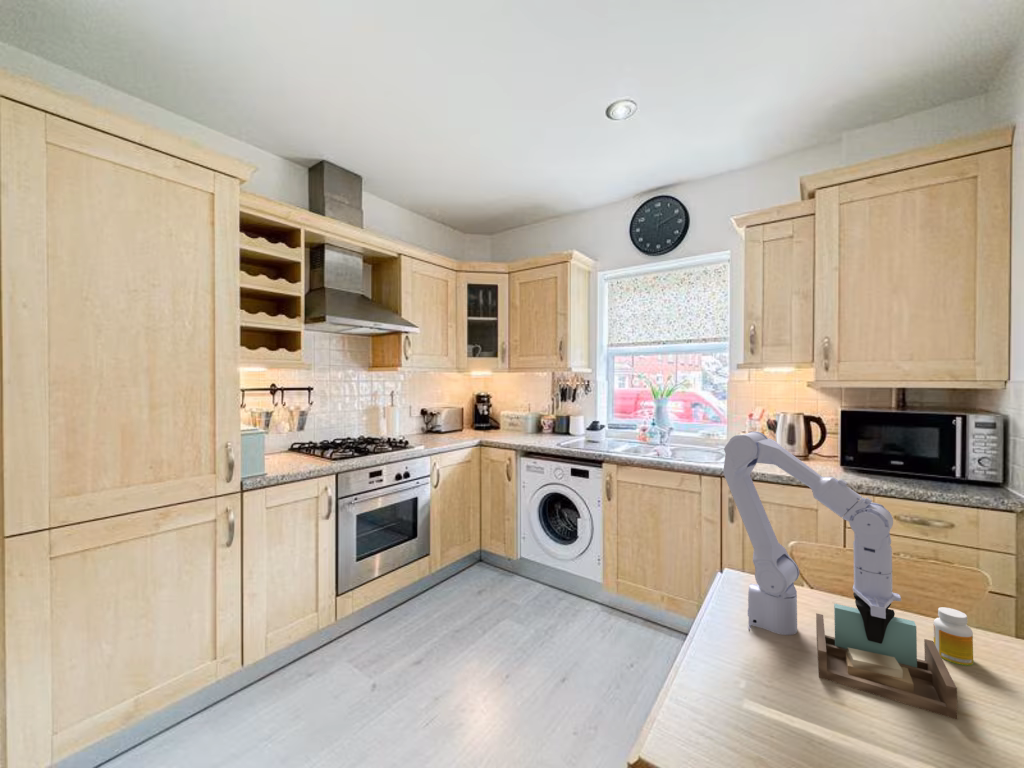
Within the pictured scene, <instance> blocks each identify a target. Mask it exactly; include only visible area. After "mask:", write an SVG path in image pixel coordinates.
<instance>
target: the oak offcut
mask: <svg viewBox="0 0 1024 768" xmlns="http://www.w3.org/2000/svg"><path fill="white" fill-rule="evenodd" d="M846 664H847V671H848V674H851V675H854V676H858V677H861V678H865V679H868V680H872V681H875V682H878V683H882V684H885V685H889V686H892V687H895V688H899V689H902V690H906V691H909V692H912V693H914V684H913V681H912V679H911V676H910V673H909V671H908V668H905V667H901V666H900V667H901V668H902V670H903V679H902V678H897V677H893V676H888V675H884V674H879V673H875V672H871V671H866V670H862V669H857V668H853V666H852V663H851V661H850V659H849V657H848V652H846Z"/></svg>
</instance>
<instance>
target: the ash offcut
mask: <svg viewBox="0 0 1024 768" xmlns="http://www.w3.org/2000/svg"><path fill="white" fill-rule="evenodd" d="M848 657H849V659H850V661H851V663H852V666H853V668H857V669H862V670H866V671H871V672H875V673H879V674H884V675H888V676H893V677H897V678H902V679H903V670H902V668H901V667H900V665H899V664H898V662H897V660H896V659H895V657H891V656H886V655H882V654H877V653H872V652H867V651H863V650H858V649H853V648H848Z"/></svg>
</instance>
